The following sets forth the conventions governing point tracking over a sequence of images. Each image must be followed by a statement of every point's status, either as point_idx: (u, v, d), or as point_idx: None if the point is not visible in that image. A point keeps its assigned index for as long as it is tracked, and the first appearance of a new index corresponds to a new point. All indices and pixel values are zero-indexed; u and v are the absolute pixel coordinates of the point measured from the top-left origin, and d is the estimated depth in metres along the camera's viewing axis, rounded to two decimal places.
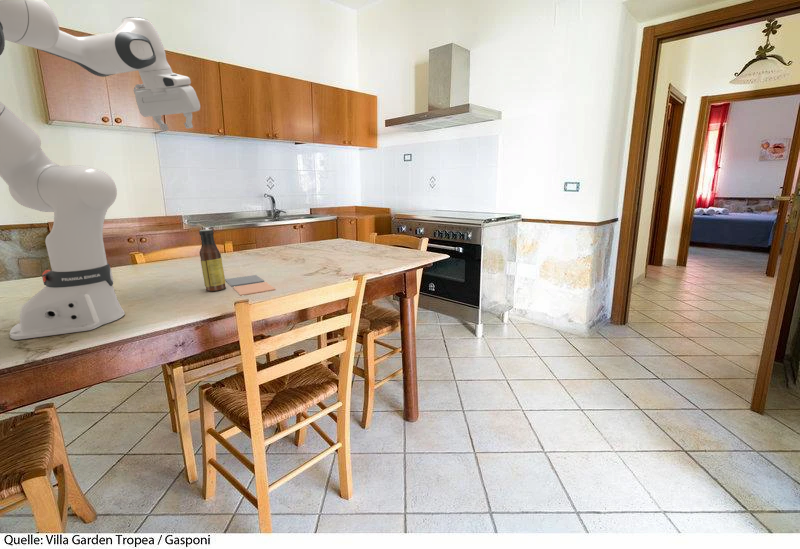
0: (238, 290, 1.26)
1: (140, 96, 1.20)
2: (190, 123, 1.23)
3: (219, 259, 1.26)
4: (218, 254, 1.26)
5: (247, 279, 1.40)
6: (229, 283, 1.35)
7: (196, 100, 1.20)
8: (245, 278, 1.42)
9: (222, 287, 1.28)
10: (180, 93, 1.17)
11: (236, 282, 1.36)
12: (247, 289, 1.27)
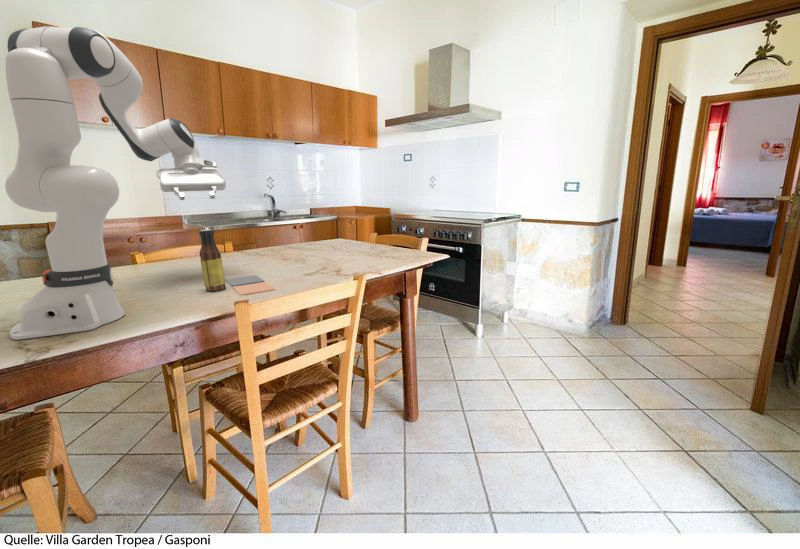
0: (238, 290, 1.26)
1: (168, 171, 1.31)
2: None
3: (219, 259, 1.26)
4: (218, 254, 1.26)
5: (247, 279, 1.40)
6: (229, 283, 1.35)
7: None
8: (245, 278, 1.42)
9: (222, 287, 1.28)
10: (215, 172, 1.39)
11: (236, 282, 1.36)
12: (247, 289, 1.27)
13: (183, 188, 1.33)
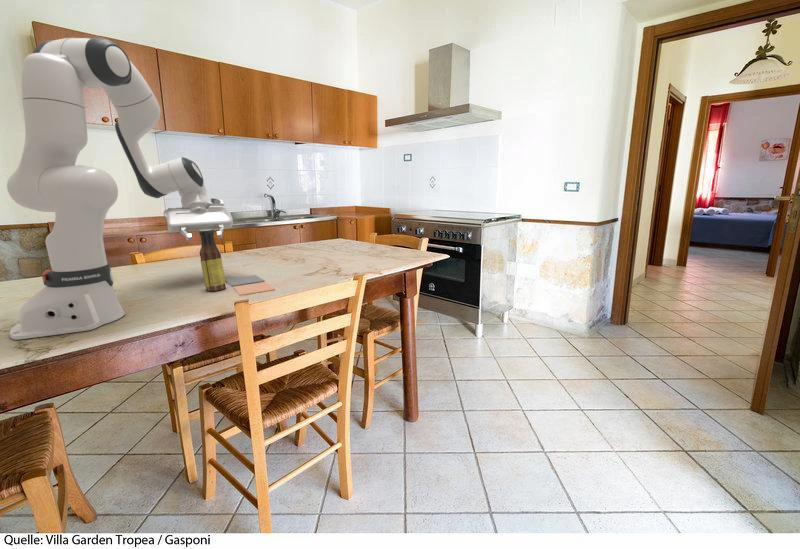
0: (238, 290, 1.26)
1: (175, 211, 1.30)
2: None
3: (219, 259, 1.26)
4: (218, 254, 1.26)
5: (247, 279, 1.40)
6: (229, 283, 1.35)
7: None
8: (245, 278, 1.41)
9: (222, 287, 1.28)
10: (222, 210, 1.38)
11: (236, 282, 1.36)
12: (247, 289, 1.27)
13: (190, 228, 1.32)
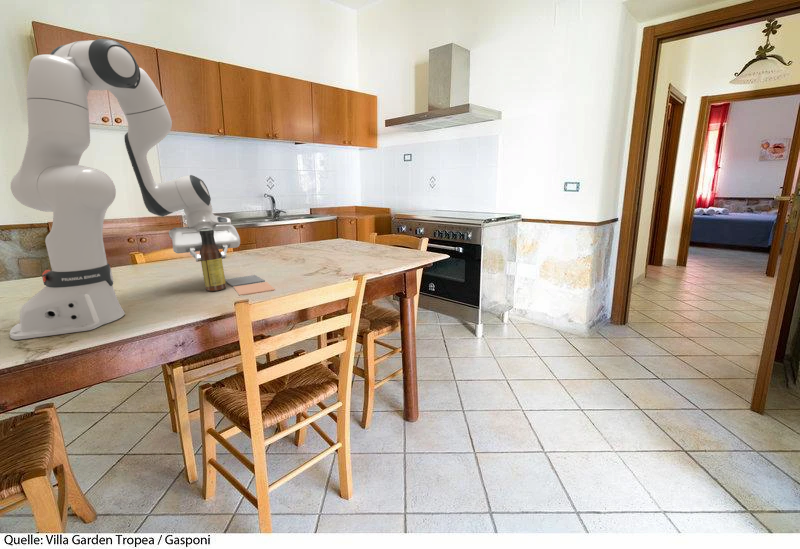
0: (238, 290, 1.26)
1: (180, 232, 1.25)
2: None
3: (219, 259, 1.26)
4: (218, 254, 1.26)
5: (247, 279, 1.40)
6: (229, 283, 1.35)
7: None
8: (245, 278, 1.41)
9: (222, 287, 1.28)
10: (229, 229, 1.33)
11: (236, 282, 1.36)
12: (247, 289, 1.27)
13: (196, 248, 1.27)
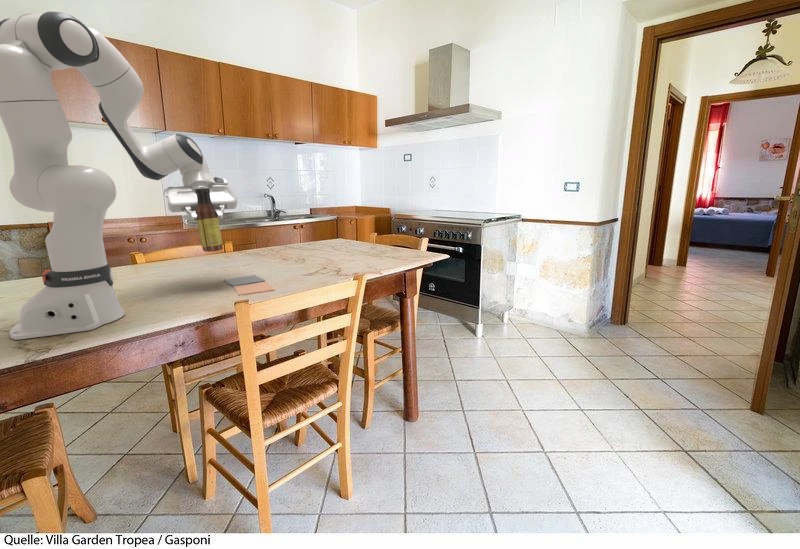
0: (238, 290, 1.26)
1: (176, 190, 1.23)
2: None
3: (216, 219, 1.24)
4: (215, 213, 1.23)
5: (247, 279, 1.40)
6: (230, 283, 1.34)
7: None
8: (245, 278, 1.41)
9: (219, 248, 1.26)
10: (226, 190, 1.30)
11: (237, 282, 1.36)
12: (247, 289, 1.27)
13: (192, 208, 1.24)
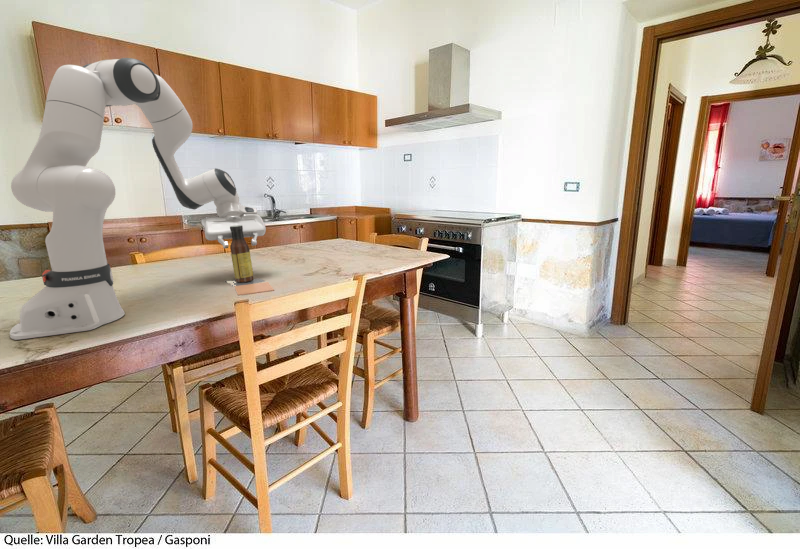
0: (238, 290, 1.27)
1: (212, 220, 1.35)
2: None
3: (248, 253, 1.37)
4: (247, 248, 1.36)
5: None
6: None
7: None
8: None
9: (251, 279, 1.38)
10: (256, 218, 1.43)
11: (237, 283, 1.36)
12: (247, 289, 1.27)
13: (226, 236, 1.37)
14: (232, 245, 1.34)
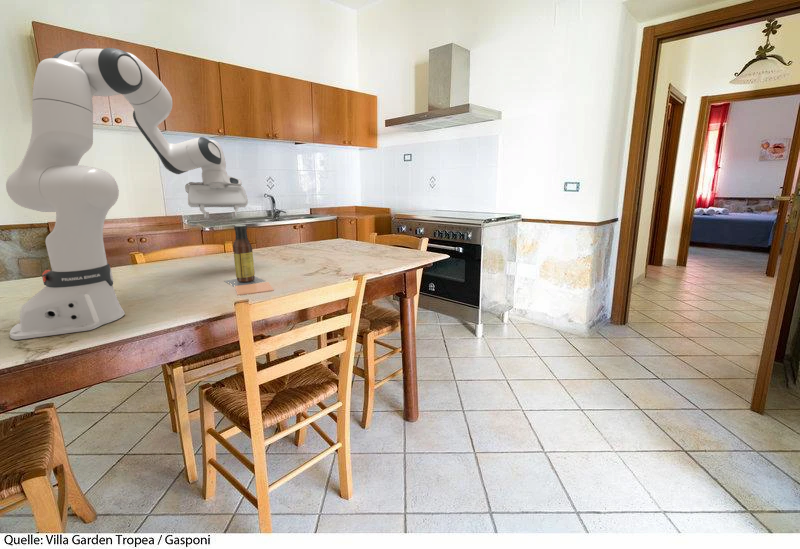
0: (238, 290, 1.27)
1: (196, 188, 1.40)
2: None
3: (251, 253, 1.37)
4: (250, 248, 1.36)
5: None
6: None
7: None
8: None
9: (252, 278, 1.39)
10: (239, 190, 1.48)
11: (237, 283, 1.36)
12: (247, 289, 1.27)
13: (208, 204, 1.43)
14: (236, 244, 1.34)
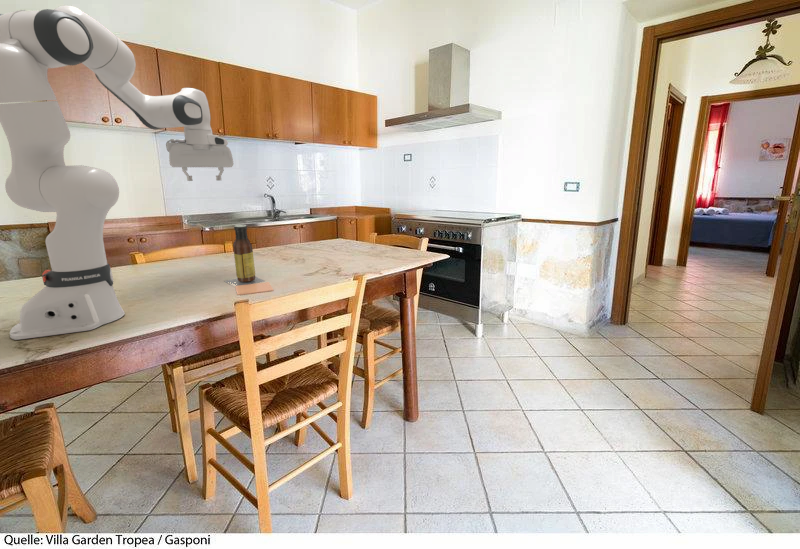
0: (238, 289, 1.27)
1: (178, 148, 1.31)
2: None
3: (252, 252, 1.37)
4: (251, 248, 1.36)
5: None
6: None
7: None
8: None
9: (254, 278, 1.39)
10: (225, 151, 1.39)
11: (237, 283, 1.36)
12: (246, 289, 1.27)
13: None
14: (237, 245, 1.33)
